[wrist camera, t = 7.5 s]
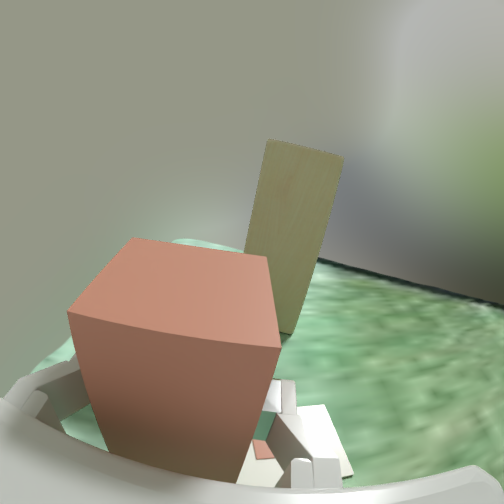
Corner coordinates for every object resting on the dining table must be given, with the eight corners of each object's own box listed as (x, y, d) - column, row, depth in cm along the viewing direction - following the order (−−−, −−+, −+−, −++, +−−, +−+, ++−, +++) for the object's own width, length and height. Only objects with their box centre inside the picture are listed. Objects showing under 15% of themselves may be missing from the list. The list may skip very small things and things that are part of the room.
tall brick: (229, 430, 14) (266, 256, 10) (227, 505, 9) (281, 347, 6) (144, 417, 13) (132, 237, 9) (126, 488, 9) (66, 310, 5)
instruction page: (323, 405, 25) (324, 403, 25) (353, 474, 17) (354, 473, 17) (215, 410, 22) (215, 408, 22) (226, 493, 15) (226, 492, 15)
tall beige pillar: (298, 305, 41) (338, 155, 34) (294, 336, 35) (345, 156, 27) (243, 291, 42) (274, 139, 35) (229, 318, 36) (265, 137, 28)
